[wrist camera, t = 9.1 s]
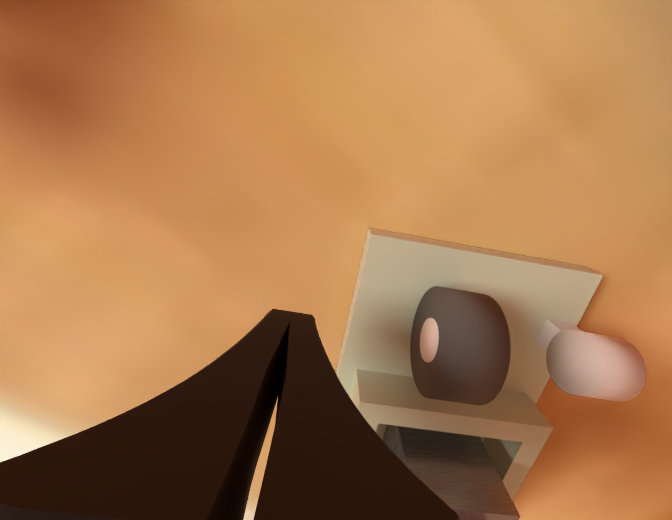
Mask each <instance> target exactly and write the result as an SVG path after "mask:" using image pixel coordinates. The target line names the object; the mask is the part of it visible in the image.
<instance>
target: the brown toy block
mask: <svg viewBox="0 0 672 520" xmlns="http://www.w3.org/2000/svg"><path fill="white" fill-rule="evenodd" d="M383 442H384V443H385V444H386V445H387V446H388V447H389V449H390V450H391V451H392V452H393V453H394V454H395V455H396V456H397V457H398V458H399V459H400V460H401V461H402V462H403V463H404V464H405V465H406V466H407V468H408V469H409V470H410V471H411V472H412V473H413V474H414V475H415V476H417V477H418V478H419V479H420V480H421V481H422V482H423V483H424V484H425V485H426V486H427V487H429V488H430V489H431V490H432V491H433V492H434V493H435V494H436V495H437V496H438V497H439V498H440V499H442V500H443V501H444V502H445V503H446V504H447V505H448V506H449V507H450V508H451V509H452V510H453V511H455V512H456V513H457V514H458V516H459V518H460V520H519V518H520V515H519V513H518V511H517V509H516V507H515V505H514V503H513V501H512V499H511V497H510V495H509V493H508V491H507V489H506V487H505V485H504V483H503V481H502V479H501V478H500V476H499V474H498V472H497V470H496V468H495V466H494V464H493V462H492V460H491V458H490V456H489V454H488V452H487V450H486V448H485V446H484V444H483V442H482V440H481V438H480V437H479V436H472V435H464V434H456V433H449V432H441V431H433V430H426V429H418V428H410V427H403V426H395V425H387V427H386V430H385V433H384V437H383Z"/></svg>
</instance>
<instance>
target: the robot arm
mask: <svg viewBox="0 0 672 520" xmlns="http://www.w3.org/2000/svg"><path fill="white" fill-rule="evenodd" d="M277 397H278V403H277V413H276V423H275V429H274V433H273V438H272V442H271V447H270V451H269V456H268V460H267V465H266V469H265V473H264V477H263V482H262V486H261V490H260V495H259V499H258V503H257V508H256V512H255V516H254V520H460V518H459V516H458V514H457V513H456V512H455V511H453V510H452V509H451V508H450V507H449V506H448V505H447V504H446V503H445V502H444V501H443V500H442V499H440V498H439V497H438V496H437V495H436V494H435V493H434V492H433V491H432V490H431V489H430V488H429V487H427V486H426V485H425V484H424V483H423V482H422V481H421V480H420V479H419V478H418V477H417V476H415V475H414V474H413V473H412V472H411V471H410V470H409V469H408V468H407V466H406V465H405V464H404V463H403V462H402V461H401V460H400V459H399V458H398V457H397V456H396V455H395V454H394V453H393V452H392V451H391V450H390V449H389V447H388V446H387V445H386V444H385V443H384V442H383V440H382V439H381V438H380V437H379V435H378V434H377V433H376V432H375V431H374V429H373V428H372V427H371V426H370V425H369V423H368V422H367V421H366V420H365V418H364V417H363V415H362V414H361V413H360V411H359V410H358V409H357V407H356V406H355V404H354V403H353V401H352V400H351V398H350V397H349V395H348V394H347V392H346V390H345V389H344V387H343V385H342V384H341V382H340V380H339V378H338V377H337V375H336V373H335V371H334V369H333V367H332V365H331V363H330V361H329V359H328V357H327V354H326V352H325V350H324V347H323V345H322V343H321V340H320V337H319V334H318V331H317V328H316V324H315V318H314V317H313V316H312V315H309V314H303V313H296V312H290V311H284V310H277V309H272V310H271V311H269V312H268V314H267V315H266V316H265V317H264V318H263V319H262V320H261V321H260V322H259V323H258V324H257V325H256V326H255V327H254V328H253V329H252V330H251V331H250V332H249V333H248V334H246V335H245V336H244V337H243V338H242V339H241V340H240V341H239V342H237V343H236V344H235V345H234V346H233V347H231V348H230V349H229V350H228V351H226V352H225V353H224V354H222V355H221V356H220V357H219V358H217V359H216V360H215V361H213V362H212V363H211V364H209V365H208V366H206V367H205V368H203V369H202V370H200V371H199V372H197V373H196V374H194V375H193V376H191V377H190V378H188V379H187V380H185V381H183V382H182V383H180V384H178V385H176V386H175V387H173V388H171V389H169V390H168V391H166V392H164V393H162V394H160V395H158V396H157V397H155V398H153V399H151V400H149V401H147V402H145V403H143V404H141V405H139V406H137V407H135V408H133V409H131V410H129V411H127V412H125V413H123V414H121V415H118V416H116V417H114V418H112V419H109V420H107V421H105V422H103V423H100V424H98V425H96V426H94V427H91V428H89V429H87V430H84V431H82V432H79V433H77V434H74V435H72V436H69V437H67V438H64V439H61V440H59V441H56V442H54V443H51V444H48V445H46V446H43V447H41V448H38V449H35V450H33V451H30V452H28V453H25V454H22V455H20V456H17V457H14V458H12V459H9V460H6V461H3V462H0V520H243V518H244V513H245V509H246V504H247V500H248V495H249V491H250V487H251V483H252V479H253V475H254V472H255V468H256V465H257V461H258V458H259V455H260V452H261V449H262V446H263V442H264V439H265V436H266V433H267V430H268V426H269V423H270V420H271V417H272V414H273V410H274V407H275V404H276V401H277Z"/></svg>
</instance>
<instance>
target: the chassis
mask: <svg viewBox="0 0 672 520" xmlns="http://www.w3.org/2000/svg"><path fill="white" fill-rule="evenodd" d="M602 277H603V275H602V274H600V273H598V272H596V271H594V270H592V269H589V268H587V267H585V266H580V265H574V264H568V263H563V262H557V261H552V260H546V259H540V258H535V257H529V256H524V255H518V254H512V253H507V252H501V251H496V250H490V249H484V248H479V247H473V246H468V245H462V244H456V243H451V242H445V241H440V240H434V239H429V238H423V237H417V236H412V235H406V234H401V233H395V232H389V231H384V230H378V229H373V228H369V229H368V233H367V237H366V242H365V246H364V251H363V255H362V259H361V264H360V268H359V273H358V277H357V281H356V286H355V290H354V295H353V299H352V303H351V308H350V312H349V316H348V321H347V325H346V330H345V334H344V338H343V343H342V347H341V352H340V356H339V360H338V365H337V369H336V375H337V377H338V378H339V380H340V382H341V384H342V385H343V387H344V389H345V390H346V392H347V394H348V395H349V397H350V398H351V400H352V401H353V403H354V404H355V406H356V407H357V409H358V410H359V411H360V413H361V414H362V415H363V417H364V418H365V420H366V421H367V422H368V423H369V425H370V426H371V427H372V428H373V429H374V431H375V432H376V433H377V434H378V435H379V437H380V438H381V439H382V440H383V437H384V433H385V430H386V427H387V425H395V426H403V427H410V428H418V429H426V430H433V431H441V432H449V433H456V434H464V435H472V436H479V437H480V438H481V440H482V442H483V444H484V446H485V448H486V450H487V452H488V454H489V456H490V458H491V460H492V462H493V464H494V466H495V468H496V470H497V472H498V474H499V476H500V478H501V479H502V481H503V483H504V485H505V487H506V489H507V491H508V493H509V495H510V497H511V499H512V501H513V499H514V498H515V496H516V494H517V492H518V491H519V489H520V487H521V485H522V484H523V482H524V480H525V478H526V476H527V475H528V473H529V471H530V469H531V468H532V466H533V464H534V462H535V460H536V459H537V457H538V455H539V453H540V452H541V450H542V448H543V446H544V445H545V443H546V441H547V439H548V437H549V436H550V434H551V432H552V430H553V429H554V428H553V426H552V425H551V424H550V423H549V421H548V420H547V419H546V418H545V416H544V415H543V414H542V412H541V411H540V410H539V409H538V407H537V406H536V404H537V402H538V400H539V398H540V396H541V394H542V392H543V390H544V388H545V387H546V385H547V383H548V381H549V379H550V377H551V379H552V380H553V382H554V383H555V384H556V386H557V387H558V388H559V389H561V390H562V391H564V392H565V393H568V394H571V395H576V396H583V397H590V398H597V399H604V400H611V401H618V402H624V401H629V400H632V399H634V398H635V397H637V396H638V395H639V394H640V393H641V391H642V390H643V388H644V386H645V383H646V367H645V363H644V360H643V358H642V356H641V355H640V353H639V352H638V350H637V349H636V348H635V347H634V346H633V345H632V344H631V343H629V342H628V341H626V340H624V339H622V338H619V337H614V336H608V335H601V334H595V333H589V332H583V331H582V330H581V329H579V328H578V327H577V325H578V323H579V321H580V319H581V317H582V315H583V314H584V312H585V310H586V308H587V306H588V304H589V302H590V300H591V298H592V296H593V294H594V292H595V291H596V289H597V287H598V285H599V283H600V281H601V279H602ZM434 286H440V287H446V288H452V289H458V290H464V291H470V292H476V293H481V294H486V295H489V296H490V297H492V298H493V299H494V300H495V301H496V302H497V303H498V304H499V306H500V307H501V309H502V311H503V313H504V315H505V318H506V321H507V324H508V328H509V334H510V344H511V353H510V364H509V369H508V373H507V377H506V380H505V382H504V385H503V387H502V389H501V391H500V392H499V394H498V395H497V396H496V398H495V399H494V400H493V401H491V402H490V403H488V404H485V405H480V406H479V405H472V404H465V403H458V402H450V401H443V400H436V399H429V398H425V397H424V396H423V395H421V393H420V392H419V391H418V389H417V387H416V384H415V382H414V378H413V374H412V368H411V359H410V342H411V332H412V326H413V321H414V317H415V313H416V310H417V307H418V305H419V302H420V300H421V298H422V297H423V295H424V294H425V293H426V291H427V290H428V289H430V288H431V287H434Z"/></svg>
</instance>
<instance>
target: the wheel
mask: <svg viewBox="0 0 672 520" xmlns="http://www.w3.org/2000/svg"><path fill="white" fill-rule="evenodd" d="M510 353H511V344H510V334H509V328H508V324H507V321H506V318H505V315H504V313H503V311H502V309H501V307H500V306H499V304H498V303H497V302H496V301H495V300H494V299H493V298H492V297H490V296H489V295H486V294H481V293H476V292H470V291H464V290H458V289H452V288H446V287H440V286H434V287H431V288H430V289H428V290H427V291H426V293H425V294H424V295H423V297H422V298H421V300H420V302H419V305H418V307H417V310H416V313H415V317H414V321H413V326H412V332H411V342H410V359H411V368H412V374H413V378H414V382H415V384H416V387H417V389H418V391H419V392H420V393H421V395H423V396H424V397H425V398H429V399H436V400H443V401H450V402H458V403H465V404H472V405H479V406H480V405H485V404H488V403H490V402H491V401H493V400H494V399H495V398H496V396H497V395H498V394H499V392H500V391H501V389H502V387H503V385H504V382H505V380H506V377H507V373H508V369H509V364H510Z"/></svg>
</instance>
